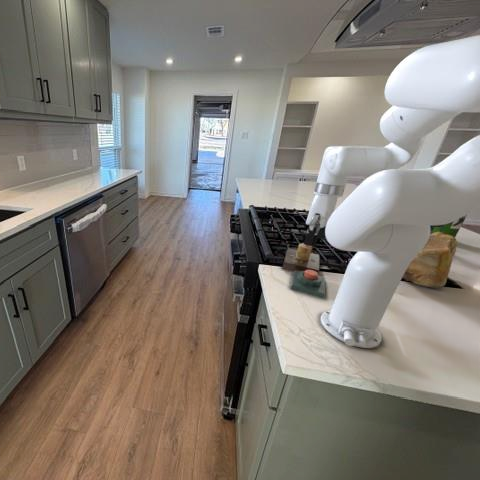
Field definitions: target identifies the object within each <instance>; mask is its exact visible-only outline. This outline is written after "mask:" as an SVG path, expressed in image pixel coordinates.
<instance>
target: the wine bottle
mask: <svg viewBox="0 0 480 480" xmlns="http://www.w3.org/2000/svg"><path fill="white" fill-rule="evenodd" d="M468 215H469V214H467V215H465V216H463V217H461V218H459V219H457V220H455V221H453V222H451V223H448V224H445V226H444V228H443V230H442V233H444V234H445V235H451V236H453V237H454V238H455V239H456V237H457V235H458V233H459V231H460V229H461V228H462V225H464V222H465V220H466V218H467V216H468ZM441 228H442V227H434V229H433V231H432V232H434V233H435V232H440V230H441Z"/></svg>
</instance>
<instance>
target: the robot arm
mask: <svg viewBox="0 0 480 480" xmlns="http://www.w3.org/2000/svg"><path fill="white" fill-rule="evenodd" d="M384 99H385V101H386V102H387V103H388V104H389V105H391V107H390V108H389V109H388V110H386V111H385V112H384V113H383V115H382V116H381V118H380V120H379V130H380V133H381V134H382V136H383V137H384V138H385V139H386V140H387V141H388V142H390V143H388V144H387V145H385V146H355V145H346V146H345V145H343V146H341V145H332V146H328V147H326V149H325V150H324V153H323V156H322V160H321V162H320V163H321V164H320V168H319V171H318V175H317V179H316V183H315V187H314V190H313V194H315V195H314V197H313V200H312V202H311V205H310V207H309V211H308V214H307V218H306V220H305V225H306V226H308V227H307V230H306V234H305V236H304V241H303V243H304V244H305V245H308V246H312V247H313V248H315V247H316V246H317V242H318V239H319V240H325V239H326V241H327V243H329V245H331V246H332V247H333V248H335V249H336V250H341V251H346V252H356V253H355V254H354V255H353V256H352V258H351V259H350V260H349V262H348V264H347V266H346V269H345V272H344V275H343V277H342V279H341V282H340V285H339V288H338V290H337V292H336V295H335V299H334V301H333V304H332V307H331V309H326V310H325V311H323V312H322V313H321V316H320V323H321V326H322V327H323V328H324V329H325V330H326V331H327V332H328V333H329V334H330V335H331V336H332V337H335V339H337V340H340V341H341V342H344V344H345V345H346V346H349V347H353V346H354V347H358V348H362V349H363V348H364V349H372V348H377V347H378V346H380V344H381V343H382V333H381V331H379V329H378V328H379V325H380V323H381V321H382V319H383V317H384V315H385V313H386V311H387V309H388V307H389V305H390V303H391V301H392V299H393V297H394V295H395V293H396V290H397V288H398V287H399V285H400V283H401V280H402V279H403V275H404V273H405V271H406V270H407V268H408V266H409V265H410V263H411V262H412V261H413V259H414V258H415V257H416V256H417V255H418V253H419V252H420V251H421V250H422V249H423V247H424V246H425V244H426V243H427V241H428V239H429V237H430V231H431V230H430V225H444V224H448V223H451V222H453V221H455V220H457V219H459V218H461V217H463V216H465V215H467V214H468V215H469V214H470V213H472V212H474V211H475V210H477V209H479V208H480V134H479V135H476V136H475V137H473V138H471V139H470V140H468V141H466V142H465V143H463V144H462V145H460V146H459V147H458V148H457V149H456V150H454V151H453V152H452V153H451V154H450V155H449V156H447V157H446V158H444V159H443V160H442V161H440V162H438V163H437V164H435V165H434V166H431V167H427V168H420V169H419V168H418V169H415V168H402V167H404V166H405V165H406V164H408V163H409V162H411V161H412V159H414V157H415V156H416V154H417V153H418V151H419V149H420V147H421V145H422V141H423V138H424V137H425V136H427V135H429V134H430V133H432V132H434V131H435V130H436V129H438V128H439V127H441V126H443V125H444V124H446V123H448V122H449V121H451V120H452V119H454V118H456V117H457V116H458V115H461V114H462V113H480V34H478V35H472V36H468V37H464V38H460V39H455V40H449V41H444V42H440V43H433V44H429V45H425V46H423V47H421V48H418V49H416V50H415V51H413V52H411V53H410V54H409V55H407V56H406V57H405V58H404V59H403V60H402V61H400V62H399V64H398V65H396V67H395V68H394V69H393V71H391V73H390V75H389V77H388V78H387V81H386V84H385V87H384ZM349 177H357V178H358V177H359V178H362V177H363V178H365V179H364V180H363V181H362V182H361V183H359V185H357V186H356V188H355V189H354V190H353V191H352V192H351V193H350V194H349V195H348V196H347V197H346V198H345V199H344V201H343V202H341V203H340V204H339V205H338V206H337V202H338V198H342V197H343V196H344V192H345V189H346V186H347V183H348V180H349ZM336 206H337V207H336ZM468 215H467V216H468Z"/></svg>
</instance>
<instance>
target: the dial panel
mask: <svg viewBox="0 0 480 480" xmlns="http://www.w3.org/2000/svg"><path fill="white" fill-rule="evenodd" d="M297 250H298V249H294V248H290V247H287V250H286V253H285V257H284V260H283V263H282V270H285V271H289V272H293V273H294V271H295V270H297V271H305V270H313V271H315V272H317V273H318V274H319V272H320V254H317V253H313V252H311V254H310V258H309V260H308V261H303V260H299V259H297V258H296V253H297Z"/></svg>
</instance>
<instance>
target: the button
mask: <svg viewBox="0 0 480 480" xmlns="http://www.w3.org/2000/svg"><path fill="white" fill-rule="evenodd" d="M318 275H319V272H318V273H317V272H315V271H313V270H305V273H304V277H306V278H308V279H311V280H316V279H317V276H318Z"/></svg>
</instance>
